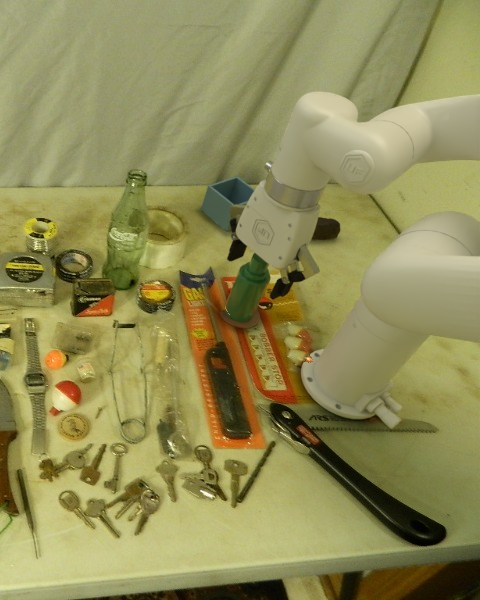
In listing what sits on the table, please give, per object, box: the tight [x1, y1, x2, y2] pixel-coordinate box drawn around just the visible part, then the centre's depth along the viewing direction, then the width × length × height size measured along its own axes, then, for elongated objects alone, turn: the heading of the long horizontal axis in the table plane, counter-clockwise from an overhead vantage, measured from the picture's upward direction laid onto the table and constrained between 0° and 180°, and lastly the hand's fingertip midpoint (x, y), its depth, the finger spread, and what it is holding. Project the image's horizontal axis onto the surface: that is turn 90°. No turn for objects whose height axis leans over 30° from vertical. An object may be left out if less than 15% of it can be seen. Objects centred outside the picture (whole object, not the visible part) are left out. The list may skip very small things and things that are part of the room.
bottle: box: [223, 252, 271, 322], centre depth 87 cm, size 5×5×12 cm
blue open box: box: [200, 175, 256, 233], centre depth 108 cm, size 8×8×6 cm
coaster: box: [218, 308, 261, 330], centre depth 91 cm, size 7×7×1 cm
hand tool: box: [311, 216, 341, 241], centre depth 105 cm, size 19×4×5 cm, turn 88°
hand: (255, 276), depth 85 cm, fingers open, 9 cm apart
